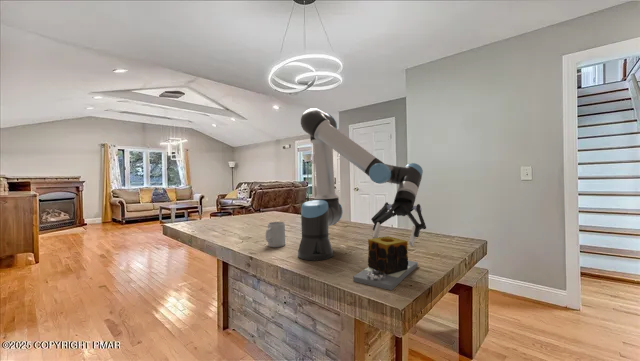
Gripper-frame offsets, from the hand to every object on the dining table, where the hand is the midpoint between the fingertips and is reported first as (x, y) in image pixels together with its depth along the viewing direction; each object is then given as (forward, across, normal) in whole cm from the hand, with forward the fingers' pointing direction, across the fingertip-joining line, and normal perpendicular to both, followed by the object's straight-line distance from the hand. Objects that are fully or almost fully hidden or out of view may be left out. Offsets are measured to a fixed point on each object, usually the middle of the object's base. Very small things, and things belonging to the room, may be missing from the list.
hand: (391, 241), depth 97 cm
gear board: (+9, +1, -6) cm, 11 cm away
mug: (+7, +62, -10) cm, 63 cm away
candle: (+8, +1, -5) cm, 10 cm away
